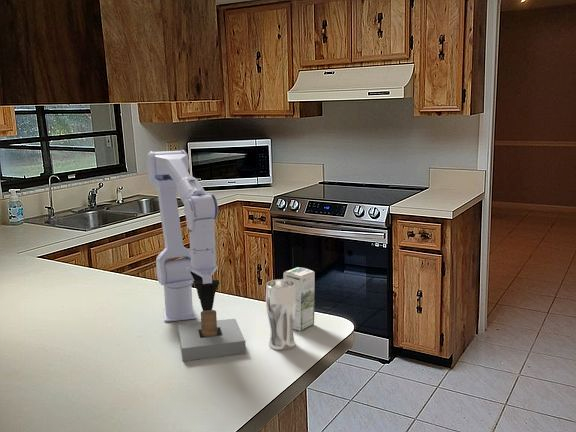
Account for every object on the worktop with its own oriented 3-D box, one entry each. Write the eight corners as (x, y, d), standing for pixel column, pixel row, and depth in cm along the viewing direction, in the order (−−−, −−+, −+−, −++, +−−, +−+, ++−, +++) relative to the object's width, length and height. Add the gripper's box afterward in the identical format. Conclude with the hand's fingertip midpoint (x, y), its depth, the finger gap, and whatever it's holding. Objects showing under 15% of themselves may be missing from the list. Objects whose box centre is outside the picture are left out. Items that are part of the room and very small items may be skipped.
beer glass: (271, 353, 123) (269, 289, 121) (264, 340, 130) (262, 280, 127) (300, 349, 125) (299, 286, 122) (292, 337, 132) (291, 277, 129)
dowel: (201, 342, 130) (200, 310, 128) (217, 340, 131) (215, 309, 129) (202, 348, 126) (201, 315, 125) (218, 347, 127) (216, 314, 126)
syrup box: (297, 319, 143) (296, 266, 140) (315, 324, 139) (314, 270, 136) (283, 326, 139) (282, 271, 136) (301, 332, 135) (300, 275, 132)
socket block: (178, 336, 134) (178, 324, 133) (235, 329, 137) (235, 318, 136) (182, 361, 120) (181, 348, 120) (245, 353, 124) (245, 340, 123)
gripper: (182, 241, 130) (185, 295, 133) (187, 257, 117) (190, 317, 119) (212, 239, 132) (214, 292, 135) (220, 254, 118) (222, 313, 121)
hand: (205, 304), depth 127 cm, fingers open, 7 cm apart
